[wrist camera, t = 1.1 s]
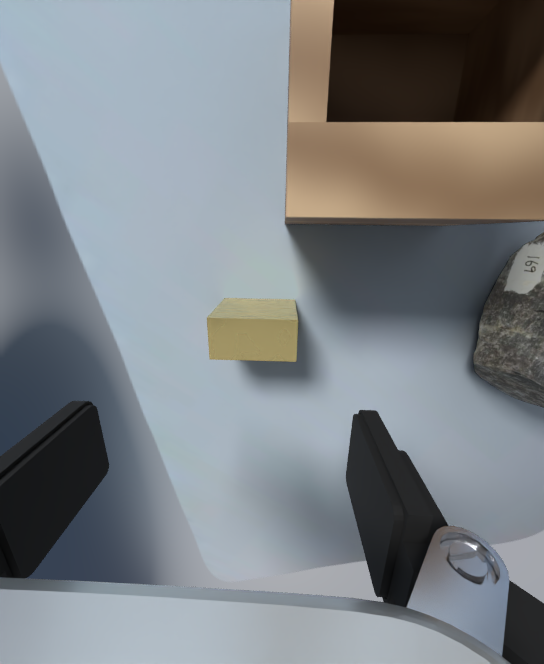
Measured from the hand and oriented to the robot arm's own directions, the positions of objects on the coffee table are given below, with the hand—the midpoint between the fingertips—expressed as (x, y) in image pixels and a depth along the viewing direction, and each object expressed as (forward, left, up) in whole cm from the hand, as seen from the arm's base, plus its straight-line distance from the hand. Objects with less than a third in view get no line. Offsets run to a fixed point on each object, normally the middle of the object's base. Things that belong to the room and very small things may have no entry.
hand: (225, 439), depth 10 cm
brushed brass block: (0, 0, -15) cm, 15 cm away
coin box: (-14, +8, -15) cm, 22 cm away
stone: (-1, +21, -16) cm, 26 cm away
